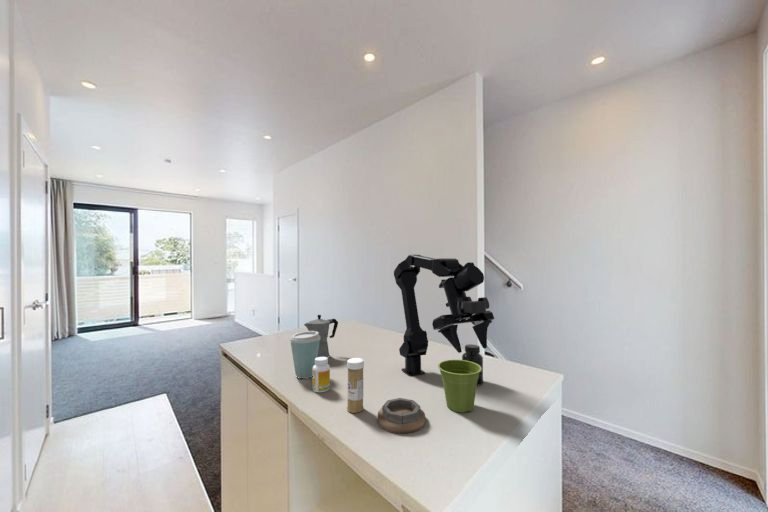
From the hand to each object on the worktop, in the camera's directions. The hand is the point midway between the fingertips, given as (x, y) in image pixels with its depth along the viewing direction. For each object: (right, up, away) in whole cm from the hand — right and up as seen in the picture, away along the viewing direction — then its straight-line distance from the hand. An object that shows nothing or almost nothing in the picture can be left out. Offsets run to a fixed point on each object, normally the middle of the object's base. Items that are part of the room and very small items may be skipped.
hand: (472, 350), depth 84 cm
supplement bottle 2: (+5, -16, +18) cm, 25 cm away
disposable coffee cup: (-53, -17, +24) cm, 60 cm away
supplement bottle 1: (-45, -16, +12) cm, 49 cm away
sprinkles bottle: (-32, -16, -1) cm, 36 cm away
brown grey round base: (-20, -16, -7) cm, 27 cm away
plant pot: (-4, -16, 0) cm, 16 cm away
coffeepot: (-51, -17, +46) cm, 71 cm away
